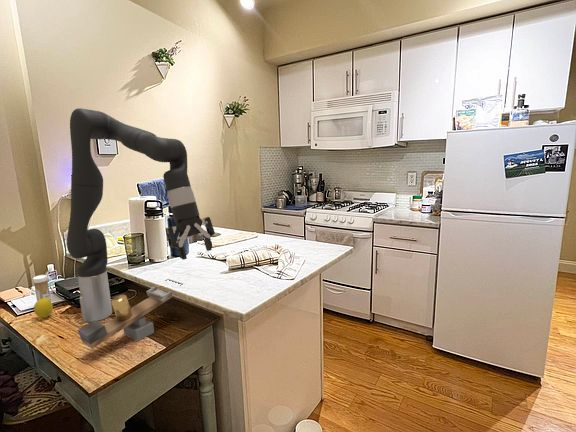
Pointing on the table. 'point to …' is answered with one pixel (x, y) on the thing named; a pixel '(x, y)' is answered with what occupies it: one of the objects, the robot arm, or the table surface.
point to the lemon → (43, 307)
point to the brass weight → (121, 308)
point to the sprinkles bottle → (41, 287)
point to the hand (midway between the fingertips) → (197, 254)
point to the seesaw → (99, 332)
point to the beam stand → (139, 329)
